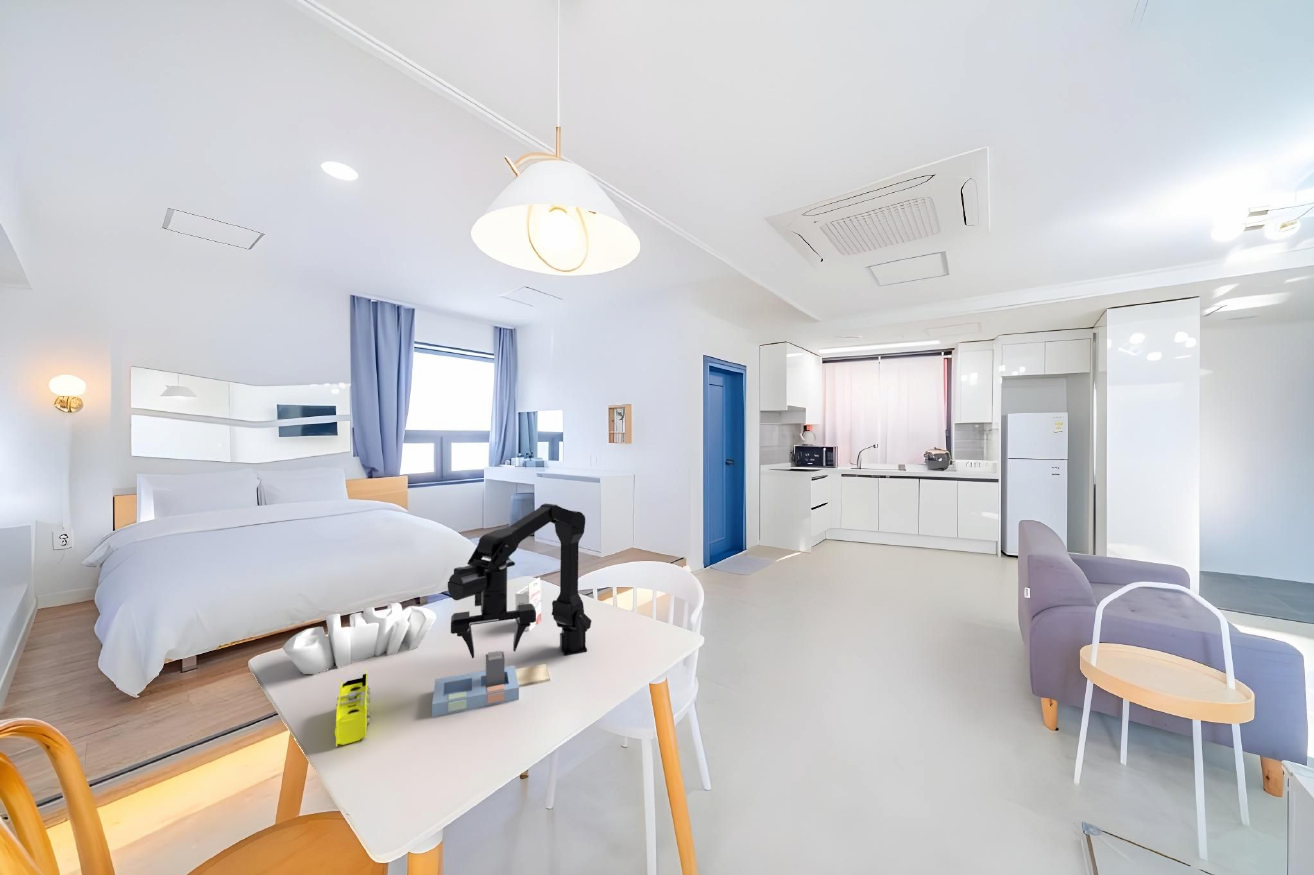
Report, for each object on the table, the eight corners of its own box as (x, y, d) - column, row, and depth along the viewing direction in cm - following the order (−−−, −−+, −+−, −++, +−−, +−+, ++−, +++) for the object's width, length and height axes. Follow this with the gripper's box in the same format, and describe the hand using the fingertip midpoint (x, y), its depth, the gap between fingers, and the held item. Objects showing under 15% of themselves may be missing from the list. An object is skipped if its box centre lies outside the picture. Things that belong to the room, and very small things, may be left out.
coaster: (545, 666, 121) (545, 663, 121) (550, 681, 114) (550, 678, 114) (513, 672, 118) (513, 669, 118) (516, 688, 111) (516, 685, 111)
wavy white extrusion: (429, 629, 145) (429, 595, 145) (438, 649, 131) (438, 612, 131) (287, 659, 125) (287, 620, 125) (280, 686, 111) (280, 643, 111)
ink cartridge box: (527, 620, 152) (527, 575, 152) (541, 621, 151) (541, 576, 151) (514, 630, 144) (514, 583, 144) (529, 632, 143) (529, 584, 143)
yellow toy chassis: (368, 741, 91) (368, 699, 92) (333, 751, 89) (334, 708, 89) (370, 702, 105) (370, 665, 105) (339, 709, 102) (340, 672, 102)
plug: (503, 684, 111) (503, 649, 111) (504, 693, 108) (504, 656, 108) (485, 688, 110) (485, 652, 110) (486, 696, 106) (486, 659, 106)
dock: (514, 677, 116) (514, 664, 116) (519, 701, 105) (519, 686, 105) (435, 692, 109) (435, 678, 109) (431, 718, 99) (432, 703, 99)
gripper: (530, 574, 120) (530, 634, 120) (452, 582, 113) (452, 646, 113) (536, 587, 109) (536, 653, 109) (450, 597, 102) (450, 667, 102)
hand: (494, 654), depth 109 cm, fingers open, 9 cm apart
